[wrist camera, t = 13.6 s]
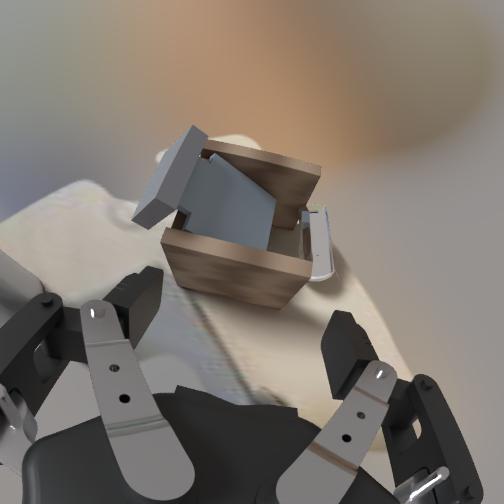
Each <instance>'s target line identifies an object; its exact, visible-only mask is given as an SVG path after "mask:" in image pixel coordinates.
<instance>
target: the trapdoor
mask: <svg viewBox="0 0 504 504" xmlns="http://www.w3.org/2000/svg"><path fill="white" fill-rule="evenodd" d="M207 138H208V135H206V134H205V133H203V132H202V131H201V130H199V129H198V128H196V127H195V126H194V125H192V126H191V127H190V128H189V129H188V130H187V131H186V132H185V133H184V134H183V135H182V136H181V137H180V138H179V139H178V140H177V141H176V142H175V143H174V144H173V145H172V146H171V147H170V148H169V149H168V150H167V151H166V152H165V154H164V155H163V157H162V159H161V161H160V163H159V165H158V166H157V168H156V170H155V172H154V174H153V176H152V178H151V180H150V182H149V184H148V186H147V188H146V190H145V192H144V194H143V196H142V198H141V200H140V202H139V204H138V207H137V209H136V211H135V213H134V215H133V217H132V220H131V221H133V222H135V223H137V224H139V225H140V226H142V227H144V228H146V229H148V230H149V229H150V228H152V227H153V226H154V225H156V224H157V223H158V222H160V221H161V220H162V219H164V218H165V217H167V216H168V215H169V214H171V213H172V212H174V211H175V210H176V209H177V210H179V211H181V212H182V213H184V214H186V215H187V218H186V220H185V223H184V226H183V229H182V231H185V232H189V233H194V234H198V235H202V236H206V237H211V238H215V239H219V240H223V241H227V242H232V243H236V244H240V245H244V246H248V247H253V248H257V249H261V250H265V251H267V246H268V241H269V236H270V231H271V225H272V220H273V215H274V210H275V205H276V199H275V198H274V197H273V196H272V195H270V194H269V193H268V192H266V191H265V190H264V189H263V188H261V187H260V186H259V185H257V184H256V183H255V182H253V181H252V180H251V179H249V178H248V177H247V176H245V175H244V174H243V173H242V172H240V171H239V170H237V169H236V168H235V167H233V166H232V165H231V164H229V163H228V162H227V161H225V160H224V159H223V158H221V157H220V156H218V155H217V154H216V153H215V154H213V155H212V156H211V157H210V160H209V162H206V161H205V160H203V159H202V158H200V157H199V155H200V153H201V151H202V149H203V147H204V145H205V142H206V140H207Z"/></svg>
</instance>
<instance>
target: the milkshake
mask: <svg viewBox="0 0 504 504" xmlns="http://www.w3.org/2000/svg"><path fill="white" fill-rule="evenodd" d="M299 259H303V260H307V261H311V262H313V266H312V274H311V279H310V280H309V281H317V282H320V281H323V280H326V279H328V278H329V277H331V276H332V275H333V273H334V270H335V269H334V261H333V253H332V246H331V237H330V228H329V221H328V214H327V207H326V206H324V205H316V204H315V205H306V206H302V207H300V208H299ZM335 272H336V271H335ZM336 274H337V273H336ZM337 276H338V275H337ZM338 278H339V277H338ZM339 280H340V279H339ZM340 282H341V281H340Z"/></svg>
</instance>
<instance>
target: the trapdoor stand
mask: <svg viewBox="0 0 504 504" xmlns="http://www.w3.org/2000/svg"><path fill="white" fill-rule="evenodd" d="M215 153H216V154H217V155H218V156H220V157H221V158H223V159H224V160H225V161H227V162H228V163H229V164H231V165H232V166H233V167H235V168H236V169H237V170H239V171H240V172H242V173H243V174H244V175H245V176H247V177H248V178H249V179H251V180H252V181H253V182H255V183H256V184H257V185H259V186H260V187H261V188H263V189H264V190H265V191H266V192H268V193H269V194H270V195H272V196H273V197H274V198H275V199H276V205H275V210H274V215H273V220H272V225H273V226H277V227H281V228H285V229H289V230H293V229H294V227H295V225H296V223H297V221H298V220H299V208H300V207H302V206H306V204H307V202H308V200H309V198H310V196H311V194H312V192H313V190H314V188H315V186H316V184H317V182H318V180H319V178H320V176H321V166H319V165H315V164H312V163H308V162H305V161H301V160H297V159H293V158H290V157H286V156H282V155H278V154H274V153H270V152H266V151H262V150H257V149H253V148H248V147H244V146H239V145H234V144H229V143H224V142H219V141H214V140H208V139H207V140H206V142H205V145H204V147H203V149H202V151H201V153H200V158H202V159H203V160H205V161H206V162H209V160H210V157H211V156H212V155H213V154H215ZM186 218H187V215H186V214H184V213H182V212H181V211H179V210H178V212H177V214H176V217H175V219H174V222H173V224H172V227H171V228H168V227H166V229H165V231H164V234H163V236H162V239H161V242H160V243H161V245H162V248H163V250H164V253H165V256H166V258H167V261H168V263H169V266H170V268H171V271H172V273H173V276H174V278H175V281H176V283H177V285H178V286H182V287H186V288H189V289H193V290H197V291H201V292H205V293H209V294H213V295H217V296H221V297H225V298H230V299H234V300H238V301H242V302H247V303H251V304H256V305H260V306H265V307H269V308H274V309H278V310H280V309H281V308H282V307H283V306H284V305H285V304H286V303H287V302H288V301H289V300H290V299H291V298H292V297H293V296H294V295H295V294H296V293H297V292H298V291H299V290H300V289H301V288H302V287H303V286H304V285H305V284H306V283H307V282H308V281H309V280H310V279H311V274H312V266H313V262H311V261H307V260H303V259H299V258H295V257H290V256H286V255H282V254H278V253H274V252H269V251H265V250H261V249H257V248H253V247H248V246H244V245H240V244H236V243H232V242H227V241H223V240H219V239H215V238H211V237H206V236H202V235H198V234H194V233H189V232H185V231H182V229H183V226H184V223H185V220H186Z"/></svg>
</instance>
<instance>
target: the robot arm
mask: <svg viewBox="0 0 504 504" xmlns="http://www.w3.org/2000/svg"><path fill="white" fill-rule="evenodd" d="M162 285H163V270H162V269H158V268H155V267H151V266H146V267H145V268H144V269H143V270H142V271H141V272H140V274H137V273H133V274H131V275H128V276H126V277H125V278H124V279H123V280H122V281H121V282H120V283H119V284H118V285H117V286H116V287H114V288H113V289H112V290H111V291H110V292H109V293H108V294H107V295H106V296H105V297H104V298H103V300H91V301H88V302H86V303H84V304H83V305H82V306H81V308H80V309H76V308H69V307H63V302H62V298H61V297H60V296H59V295H57V294H55V293H49V292H47V293H44V292H43V287H42V285H41V283H40V281H39V279H38V278H37V277H36V276H35V275H34V274H32V273H31V272H29V271H28V270H27V269H25V268H24V267H22V266H21V265H20V264H19V263H17V262H16V261H15V260H13V259H12V258H11V257H9V256H8V255H7V254H6V253H4V252H3V251H2V250H1V249H0V327H1V328H0V465H5V466H6V467H8V468H9V469H10V470H12V471H13V472H15V473H16V474H18V475H19V476H21V477H22V483H23V499H22V504H480V503H481V502H482V499H483V487H482V484H481V481H480V479H479V476H478V473H477V470H476V468H475V465H474V462H473V460H472V457H471V455H470V453H469V450H468V448H467V445H466V443H465V441H464V438H463V436H462V434H461V431H460V429H459V427H458V425H457V423H456V421H455V418H454V416H453V414H452V412H451V410H450V408H449V406H448V404H447V402H446V400H445V398H444V396H443V394H442V392H441V390H440V388H439V386H438V385H437V383H436V382H435V381H434V380H433V379H432V378H431V377H429V376H427V375H424V374H418V375H416V376H415V377H414V378H413V380H412V381H411V382H408V381H405V380H402V379H398V378H397V373H396V371H395V370H394V368H393V367H392V366H390V365H389V364H387V363H385V362H383V361H380V360H379V358H378V356H377V354H376V352H375V350H374V348H373V346H372V345H371V342H370V340H369V338H368V335H367V333H366V331H365V330H364V329H363V328H362V327H361V326H360V325H359V324H356V322H355V320H354V317H353V315H352V314H351V313H350V312H345V311H340V310H335V311H334V312H333V314H332V317H331V319H330V321H329V323H328V326H327V328H326V330H325V333H324V335H323V337H322V341H321V351H322V355H323V359H324V363H325V367H326V371H327V376H328V380H329V384H330V389H331V393H332V397H333V399H337V400H343V403H342V404H341V405H340V407H339V408H338V409H337V411H336V412H335V413H334V415H333V416H332V417H331V419H330V420H329V421H328V423H327V424H326V425H325V426H324V428H323V429H320V428H319V427H318V426H316V425H315V424H313V423H311V422H309V421H307V420H305V419H303V418H300V417H298V412H297V408H291V407H283V406H276V405H235V404H232V403H230V402H227V401H225V400H223V399H220V398H218V397H216V396H213V395H211V394H209V393H206V392H202V391H198V390H194V389H190V388H186V387H183V386H179V385H177V387H176V390H175V393H157V394H151V392H150V390H149V387H148V385H147V383H146V380H145V378H144V376H143V374H142V371H141V368H140V366H139V364H138V361H137V359H136V356H135V353H134V349H135V348H136V346H137V344H138V343H139V341H140V339H141V338H142V336H143V335H144V333H145V331H146V330H147V328H148V326H149V325H150V323H151V322H152V320H153V318H154V317H155V315H156V314H157V312H158V310H159V307H160V303H161V295H162ZM39 344H41V345H40V346H39V347H38V348H37V346H38V345H39ZM36 348H37V350H36V351H35V349H36ZM34 351H35V352H34ZM70 361H76V362H83V363H88V365H89V370H90V375H91V379H92V383H93V388H94V392H95V396H96V399H97V403H98V407H99V410H100V414H101V415H100V416H98V417H96V418H93V419H91V420H88V421H86V422H83V423H81V424H78V425H75V426H73V427H70V428H68V429H65V430H62V431H59V432H57V433H54V434H51V435H48V436H45V437H43V438H41V439H39V440H37V441H35V437H36V434H37V430H38V429H37V422H36V420H35V419H34V417H35V415H36V414H37V412H38V410H39V409H40V407H41V405H42V404H43V402H44V400H45V399H46V397H47V396H48V394H49V392H50V391H51V389H52V388H53V386H54V384H55V383H56V381H57V380H58V378H59V376H60V375H61V374H62V372H63V371H64V369H65V368H66V366H67V365H68V363H69V362H70ZM417 419H419V422H420V425H421V428H422V431H421V435H420V437H419V438H418V439H417V436H416V433H415V430H414V428H413V425H412V424H413V423H414V422H415V421H416V420H417ZM380 426H381V427H382V431H383V435H384V438H385V442H386V447H387V451H388V455H389V459H390V464H391V468H392V472H393V477H394V482H395V487H396V489H395V491H394V493H393V495H392V494H391V493H390V492H389V491H388V490H387V489H385V488H384V487H383V486H382V485H381V484H380V483H378V482H377V481H376V480H375V479H374V478H372V476H370V475H369V474H368V473H367V472H366V471H365V470H364V469H363V468H362V467H360V466H359V465H360V464H361V462H362V460H363V458H364V457H365V455H366V453H367V451H368V449H369V447H370V446H371V444H372V442H373V440H374V438H375V436H376V434H377V432H378V430H379V428H380Z"/></svg>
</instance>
